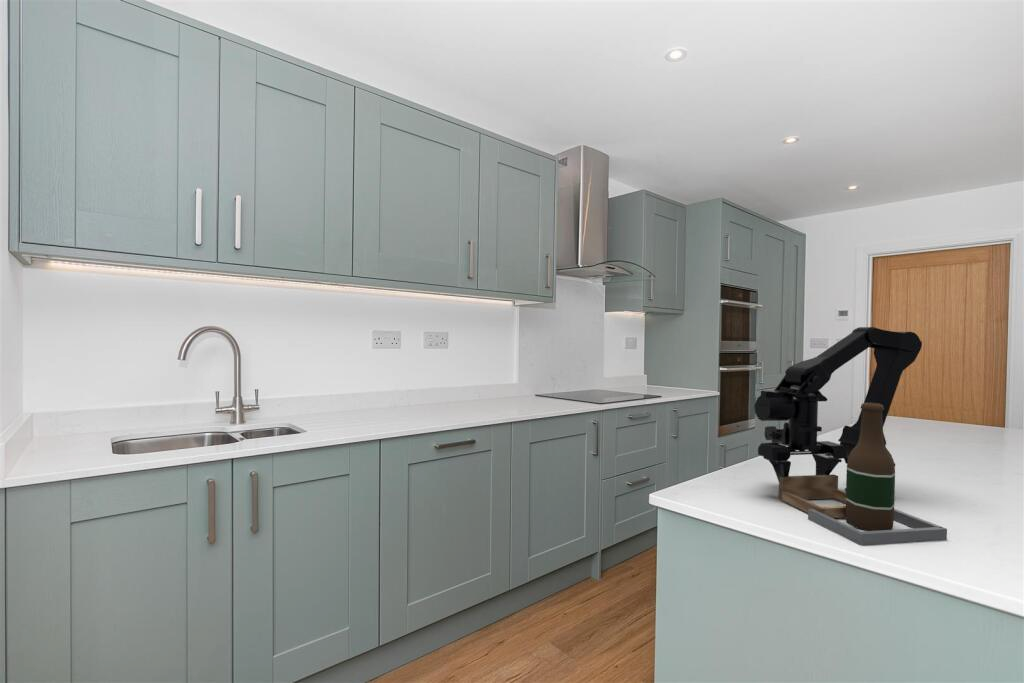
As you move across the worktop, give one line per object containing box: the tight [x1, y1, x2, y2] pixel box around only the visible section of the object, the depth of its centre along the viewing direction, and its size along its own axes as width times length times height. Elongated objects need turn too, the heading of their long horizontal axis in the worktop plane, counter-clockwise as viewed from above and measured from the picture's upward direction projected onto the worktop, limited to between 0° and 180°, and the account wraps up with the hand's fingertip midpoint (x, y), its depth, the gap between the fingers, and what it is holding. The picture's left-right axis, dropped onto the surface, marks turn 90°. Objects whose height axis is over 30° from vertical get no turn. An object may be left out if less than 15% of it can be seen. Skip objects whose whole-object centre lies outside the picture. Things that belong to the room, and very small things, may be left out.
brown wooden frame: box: [778, 474, 846, 519], centre depth 106 cm, size 14×12×5 cm
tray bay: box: [807, 508, 948, 546], centre depth 95 cm, size 18×12×2 cm
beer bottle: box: [845, 402, 896, 531], centre depth 96 cm, size 8×8×24 cm
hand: (800, 487), depth 114 cm, fingers open, 9 cm apart
